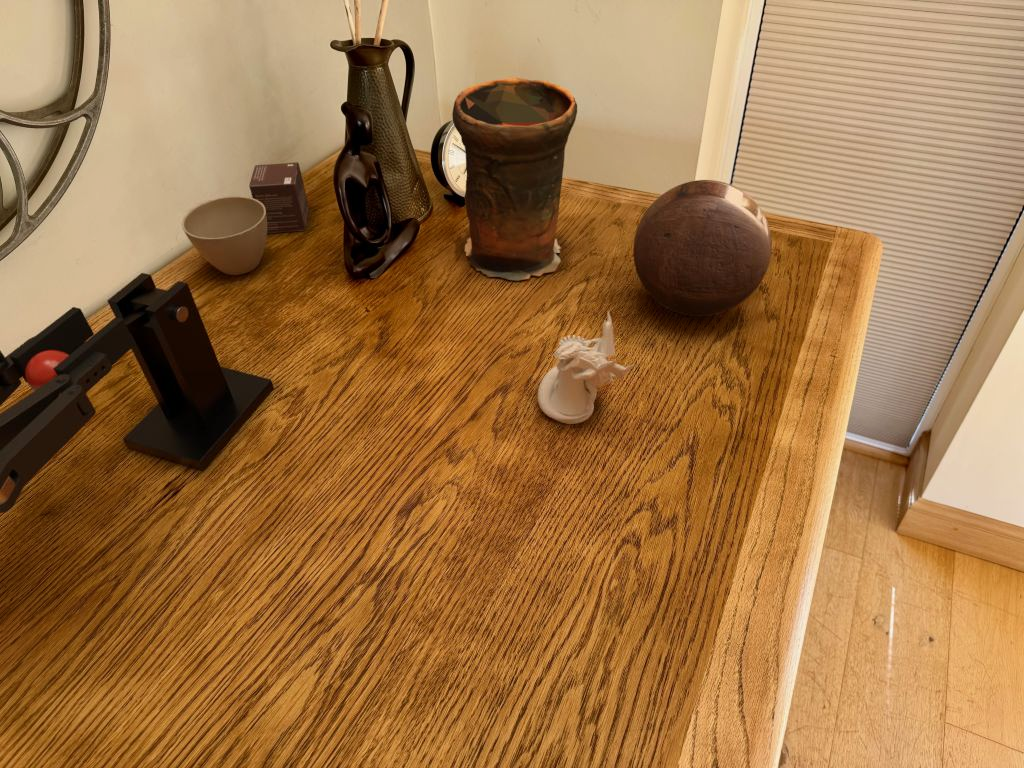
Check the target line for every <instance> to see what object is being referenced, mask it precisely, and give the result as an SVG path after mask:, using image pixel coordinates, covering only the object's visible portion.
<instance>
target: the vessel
mask: <svg viewBox="0 0 1024 768" xmlns="http://www.w3.org/2000/svg"><path fill="white" fill-rule="evenodd" d="M577 114H578V104H577V101H576V98H575V97H574V96H573V95H572V93H571V92H570V91H568V90H567V89H566V88H564V87H563V86H560V85H559V84H555V83H551V82H550V81H548V80H539V79H534V80H529V79H526V78H525V79H524V78H520V77H513V78H504V79H493V80H490V81H485V82H482V83H479V84H475V85H472V86H470V87H468V88H465V89H463V90H462V91H461V92H459V93H458V95H457V96H456V98H455V101H454V102H453V108H452V115H451V116H452V123H453V125H454V127H455V129H456V131H457V132H458V134H459V136H460V139H461V143H462V145H463V146H464V150H465V151H464V152H465V168H466V179H465V193H464V203H465V213H466V215H467V218H468V223H469V225H468V226H469V236H470V237H469V238H468V239H466V243H465V245H464V252H465V256H466V257H468V258H467V259H468V260H470V261H469V262H468V265H470V266H472V267H473V268H474V269H475V270H476V271H477V272H480V271H481V274H483V275H486V278H487V277H488V278H489V277H492V278H493V277H494V278H495V277H499V278H501V279H504V280H505V279H506V280H510V281H523V280H529V279H531V278H530V277H531V276H535V277H541V276H542V275H543V274H547V273H553V272H556V270H557V268H558V266H559V265H560V264H561V258H560V257H559V256H558V255H557V254H558V253H559V254H561V251H560V250H561V249H562V246H560V245H559V244H558V238H556V234H557V228H558V227H557V226H558V219H559V214H560V213H559V212H560V204H561V203H560V202H561V193H562V185H563V176H564V175H563V174H564V166H565V154H566V153H565V152H566V146H567V143H568V140H569V136H570V133H571V131H572V129H573V127H574V124H575V122H576V118H577Z"/></svg>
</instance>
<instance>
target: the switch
mask: <svg viewBox="0 0 1024 768" xmlns="http://www.w3.org/2000/svg"><path fill="white" fill-rule="evenodd" d="M167 290H168V289H162V288H158V287H156V288H155V287H152V288H151V289H149V290H147V291H146V292H144V293H142V294H141V295H139V296H138V297H136V298H134V299H133V300H131V301H130V302H131V305H132V309H133V312H132V313H131V314H129V315H127V316H126V317H124V318H123V320H124V322H125V324H126V326H127V328H128V330H129V332H130V334H131V333H133V332H134V331H136V330H137V329H139V328H141V327H142V326H146V327H150V328H153V326H152V324H151V322H150V320H149V318H148V315H147V313H146V311H145V309H146V308H147V307H148V306H150V305H151V304H152V303H153V302H154V301H156V300H157V299H158V298H159V297H160V296H161V295H163V294H164V293H165V292H166V291H167ZM85 342H86V341H85ZM85 342H84V343H85ZM84 343H83V344H84ZM81 345H82V344H81ZM81 345H79V346H78V347H76V348H75V349H73V350H71V351H70V352H68V353H65V352H62V351H58V350H47V351H43V352H40V353H38V354H36V355H35V356H33V357H32V358H31V359H30V361H29V362H28V364H27V366H26V369H25V377H26V380H27V382H26V383H27V384H28V386H29V387H30V388H31V389H32V390H33V392H34V391H35V390H37V389H38V388H40V387H41V386H43V385H44V384H46V383H47V382H49V381H50V380H52V379H53V378H55V377H57V376H58V375H57V374H56V372H55V370H54V369H53V368H55V367H56V366H57V365H58V364H59V363H61V362H62V361H63V360H64V359H65V358H67V357H68V356H69V355H70V354H72V353H73V352H74V351H75V350H76V349H78V348H79V347H80V346H81ZM59 396H60V395H59Z"/></svg>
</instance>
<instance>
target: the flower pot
mask: <svg viewBox="0 0 1024 768" xmlns="http://www.w3.org/2000/svg"><path fill="white" fill-rule="evenodd" d="M181 228H182V230H183V232H184V234H185V236H186V237H187V238H188V240H189V242H190V243H191V244H192V246H193V247H194V249H195V250H196V251H197V252H198V253H199V255H201V256H202V258H204V260H206V261H207V262H208V263H209V264H210V265H211V266H213V267H214V268H215V269H217V270H218V271H220V272H221V273H223V274H226V275H229V276H239V275H244V274H248V273H250V272H251V271H253V270H255V269H256V268H258V266H259V264H260V263H261V261H262V258H263V255H264V252H265V248H266V243H267V238H268V233H267V216H266V209H265V206H264V205H263V204H262V203H261V202H260V201H258V200H256V199H254V198H252V197H250V196H246V195H245V196H244V195H229V196H221V197H217V198H212V199H209V200H206V201H204V202H202V203H199V204H198V205H195V206H194V207H192V208H191V209H190V210H189V211H188V212H186V214H185V215H184V216H183V218H182V220H181Z"/></svg>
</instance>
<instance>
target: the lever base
mask: <svg viewBox="0 0 1024 768" xmlns="http://www.w3.org/2000/svg"><path fill="white" fill-rule="evenodd" d="M189 286H190V285H189V283H188V282H186V281H185V282H184V281H180V280H178V281H176V283H174V284H173V285H172V286H171V287H169V288H168V289H166V290H167V291H166V292H165V293H164V294H163V295H161V296H160V297H159V298H158V299H157V300H156V301H154V302H153V303H152V304H151V305H150V306H148V307H147V308H146V309H145V311H146V313H147V315H148V318H149V320H150V322H151V324H152V326H153V328H150V327H146V326H142V327H141V328H139V329H137V330H136V331H134V332H133V333H131V336H132V339H133V341H134V343H135V346H134V347H132V348H131V349H130V350H131V351H132V354H133V355H134V357H135V359H136V361H137V363H138V365H139V367H140V369H141V371H142V373H143V375H144V377H145V379H146V381H147V383H148V385H149V387H150V389H151V391H152V394H153V395H154V398H155V399H156V401H157V404H156V405H155V406H154V407H153V408H152V409H151V410H150V411H149V412H148V413H147V414H146V415H145V416H144V417H143V418H142V419H141V420H140V421H139V422H138V423H137V424H136V425H135V426H134V427H133V428H132V429H131V430H130V431H129V432H128V433H127V434H126V435H125V436H124V437H123V438H122V441H123V442H124V444H125V446H126V447H127V448H128V449H131V450H133V451H137V452H140V453H144V454H146V455H151V456H154V457H157V458H160V459H163V460H167V461H170V462H173V463H177V464H180V465H182V466H183V465H184V466H186V467H190V468H192V469H193V468H194V469H196V470H198V471H199V470H200V471H205V470H206V469H207V467H208V466H209V465H210V464H211V463H212V462H213V461H214V460H215V458H216V457H217V456H218V455H219V453H220V452H221V451H222V450H223V449H224V447H225V446H226V445H227V444H228V443H229V441H231V439H232V438H233V437H234V436H235V435H236V434H237V433H238V432H239V430H240V429H241V428H242V426H243V425H244V424H245V423H246V422H247V421H248V420H249V418H250V417H251V416H252V415H253V414H254V412H255V411H256V410H257V409H258V408H259V407H260V405H262V403H263V402H264V401H265V400H266V399H267V397H268V396H269V395H270V394H271V392H273V390H275V387H274V383H273V381H272V379H270V378H266V377H262V376H259V375H255V374H250V373H247V372H243V371H239V370H235V369H231V368H227V367H225V366H224V367H223V366H221V365H220V362H219V360H218V357H217V354H216V351H215V350H214V347H213V344H212V342H211V339H210V337H209V334H208V332H207V328H206V326H205V323H204V322H203V319H202V316H201V314H200V311H199V309H198V306H197V304H196V302H195V299H194V296H193V294H192V292H191V289H190V287H189ZM152 287H155V288H157V287H156V283H155V282H154V280H153V277H152V275H151V274H148V273H145V272H141V273H140V274H139V275H137V276H136V277H134V279H132V280H131V281H130V282H128V283H127V284H126V285H125V286H124V287H122V288H121V289H120V290H119V291H117V292H116V293H114V294H113V295H112V296H111V297H110V298H109V299H107V300H106V301H107V303H108V305H109V307H110V310H111V312H112V313H113V315H114V318H115V317H117V318H121V319H123V318H124V317H126V316H127V315H129V314H131V313H132V312H133V309H132V305H131V302H130V301H131V300H133V299H134V298H136V297H138V296H139V295H141V294H142V293H144V292H146V291H147V290H149V289H151V288H152Z"/></svg>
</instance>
